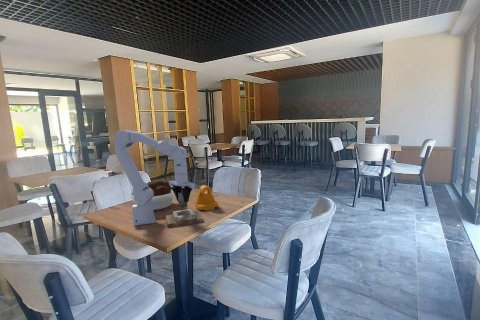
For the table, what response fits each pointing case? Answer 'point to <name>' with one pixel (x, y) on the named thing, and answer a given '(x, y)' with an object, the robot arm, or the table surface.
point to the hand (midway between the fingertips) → (182, 201)
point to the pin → (181, 200)
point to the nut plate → (183, 218)
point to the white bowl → (160, 194)
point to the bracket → (205, 199)
